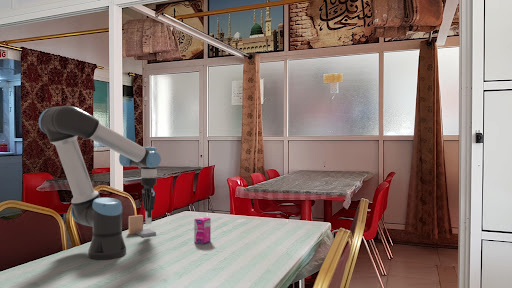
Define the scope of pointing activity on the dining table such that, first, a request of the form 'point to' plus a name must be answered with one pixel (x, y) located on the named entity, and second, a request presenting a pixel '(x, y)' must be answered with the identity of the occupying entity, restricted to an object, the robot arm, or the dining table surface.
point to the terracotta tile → (135, 223)
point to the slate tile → (146, 233)
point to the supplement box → (202, 230)
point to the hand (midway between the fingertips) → (148, 223)
